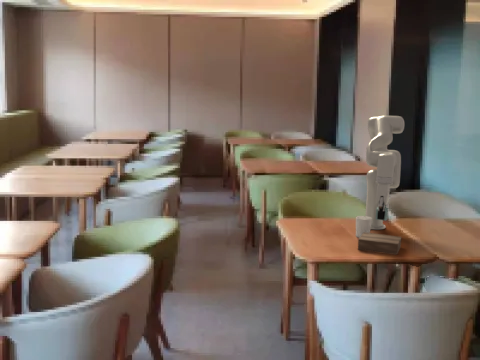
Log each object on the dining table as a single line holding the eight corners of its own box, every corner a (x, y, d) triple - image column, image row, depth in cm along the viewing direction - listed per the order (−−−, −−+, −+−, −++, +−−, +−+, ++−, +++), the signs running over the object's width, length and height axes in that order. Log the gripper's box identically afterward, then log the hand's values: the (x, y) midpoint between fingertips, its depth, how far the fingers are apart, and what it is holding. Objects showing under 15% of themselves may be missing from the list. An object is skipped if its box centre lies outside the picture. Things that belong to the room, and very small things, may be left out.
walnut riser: (363, 242, 284) (363, 232, 283) (400, 246, 278) (401, 236, 277) (357, 249, 271) (358, 239, 271) (397, 254, 265) (397, 244, 264)
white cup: (358, 239, 290) (359, 219, 288) (352, 234, 297) (353, 215, 296) (372, 238, 291) (374, 219, 289) (366, 234, 299) (367, 215, 297)
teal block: (377, 217, 275) (377, 206, 274) (387, 218, 274) (388, 208, 273) (375, 219, 271) (376, 208, 270) (386, 220, 269) (387, 210, 268)
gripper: (379, 176, 278) (376, 213, 281) (373, 182, 262) (370, 221, 266) (395, 178, 275) (392, 215, 279) (390, 183, 260) (387, 223, 263)
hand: (381, 217), depth 272 cm, fingers closed on teal block, 4 cm apart
